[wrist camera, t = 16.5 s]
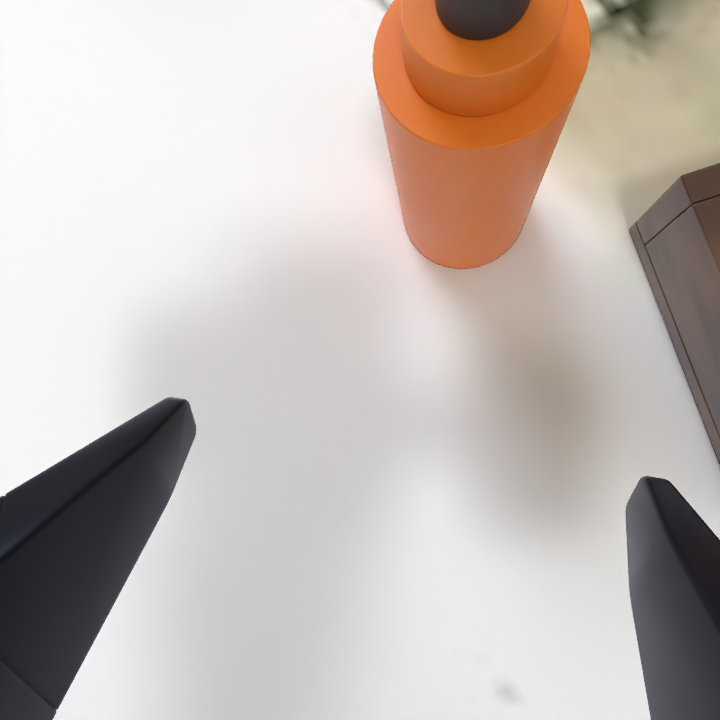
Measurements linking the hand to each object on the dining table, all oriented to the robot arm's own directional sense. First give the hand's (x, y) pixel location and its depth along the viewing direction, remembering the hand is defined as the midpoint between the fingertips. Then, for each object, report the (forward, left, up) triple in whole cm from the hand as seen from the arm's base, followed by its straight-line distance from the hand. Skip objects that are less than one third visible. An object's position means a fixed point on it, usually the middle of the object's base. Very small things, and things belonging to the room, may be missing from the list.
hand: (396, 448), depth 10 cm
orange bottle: (+9, -5, -12) cm, 15 cm away
